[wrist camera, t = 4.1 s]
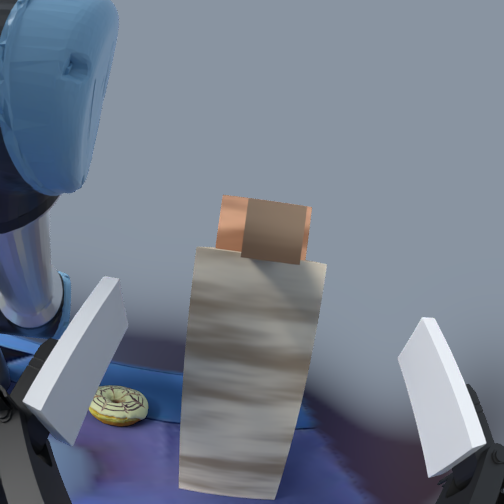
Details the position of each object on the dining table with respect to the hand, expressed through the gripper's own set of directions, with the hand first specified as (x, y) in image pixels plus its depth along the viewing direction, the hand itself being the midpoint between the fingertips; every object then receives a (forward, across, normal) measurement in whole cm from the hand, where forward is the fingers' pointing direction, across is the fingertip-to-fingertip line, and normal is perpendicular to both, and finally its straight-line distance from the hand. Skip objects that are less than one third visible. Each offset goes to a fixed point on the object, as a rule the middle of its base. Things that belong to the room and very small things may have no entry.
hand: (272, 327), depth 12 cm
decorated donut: (+11, -20, -39) cm, 45 cm away
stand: (+4, 0, -34) cm, 34 cm away
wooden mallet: (+13, 0, -5) cm, 14 cm away
